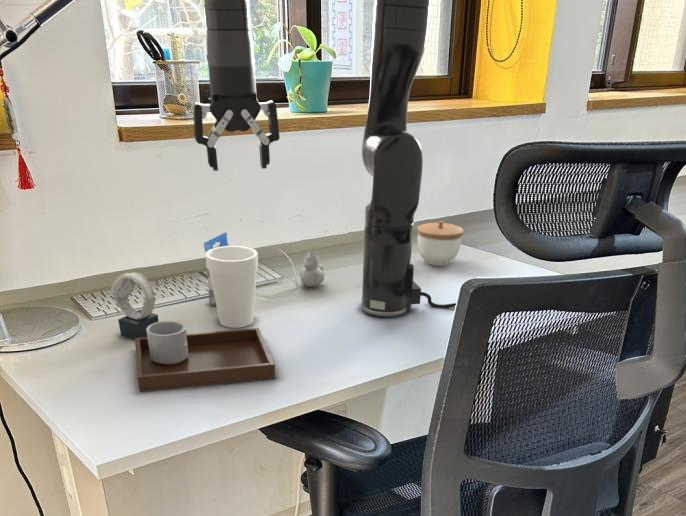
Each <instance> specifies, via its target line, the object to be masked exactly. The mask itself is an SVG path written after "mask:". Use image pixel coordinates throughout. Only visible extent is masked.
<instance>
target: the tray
mask: <svg viewBox="0 0 686 516" xmlns="http://www.w3.org/2000/svg"><path fill="white" fill-rule="evenodd" d="M186 336H187V344H188V353H189V356H188V357H187V358H186V359H185V360H183V361H182V362H180V363H177V364H171V365H164V364H159V363H157V362H154V361H153V360H151V358H150V351H149V345H148V338H147V337H142V338H135V340H134V347H135V363H136V376H137V377H136V378H137V384H138V391H139V393H146V392H147V393H148V392H157V391H166V390H167V391H168V390H176V389H177V390H178V389H189V388H196V387H206V386H207V387H208V386H216V385H226V384H237V383H245V382H256V381H265V380H275V379H276V365H275V362H274V360H273V357H272V355H271V352H270V350H269V348H268V346H267V343H266V340H265V338H264V337H263V334H262V332H261V330H260V328H259V327H255V328H254V327H251V328H240V329H230V330H228V329H227V330H217V331H216V330H215V331H204V332H192V333H186Z"/></svg>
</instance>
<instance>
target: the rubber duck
mask: <svg viewBox="0 0 686 516" xmlns="http://www.w3.org/2000/svg"><path fill="white" fill-rule="evenodd" d="M299 278H300V283H301V284H302V285H304V286H305V287H309V288H312V287H316V286H319V285H320V284H322V283H323V282H324V281H325V272H324V265H323V264H320V262H319V257H318V256H317V255H316V253H312V250H311V249H309V251H308V252H306V255H305V257H304V259H303V267H302V268H301V269H300V271H299Z"/></svg>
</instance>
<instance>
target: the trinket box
mask: <svg viewBox="0 0 686 516" xmlns="http://www.w3.org/2000/svg"><path fill="white" fill-rule="evenodd" d="M416 229H417V232H416V233H417V235H416V237H417V238H416V240H417V241H416V244H417V245H416V246H417V250H418V252H419V255H420V257H421V258H422V259H423V260H424V262H425V263H426V264H427V265H432V266H447V265H450V263H451V262H452V261H453V260H454V259H455V258H456V257H457V256H458V254H459V252H460V249H461V246H462V240H463V235H464V229H463V228H462V227H460V226H459V225H456V224H452V223H447V222H446V223H445V222H444V221H443V220H439V221H438V222H428V223H427V222H426V223H423V224H420V225H418V226H417V228H416Z"/></svg>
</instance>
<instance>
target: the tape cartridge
mask: <svg viewBox="0 0 686 516" xmlns="http://www.w3.org/2000/svg"><path fill="white" fill-rule="evenodd" d="M216 243H217V244H218V243H219V244H218V245H217V246H215V247H214V245H216ZM223 246H231V245H229V243H228V233H227V231H225V232H223V233H222V234H221V233H220V234H219V235H217V236H215V237H213V238H211V239H209V240H207V241H205V242H203V247H204V253H206V252H207V251H208V250H210V249H213V248H217V247H223ZM206 274H207V286H208V287H207V288H208V300H209V305H210V306H211V305H212V306H216V301H215V297H214V292H213V288H212V283H211V279H210V274H209V270H208V269H207V268H206Z"/></svg>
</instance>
